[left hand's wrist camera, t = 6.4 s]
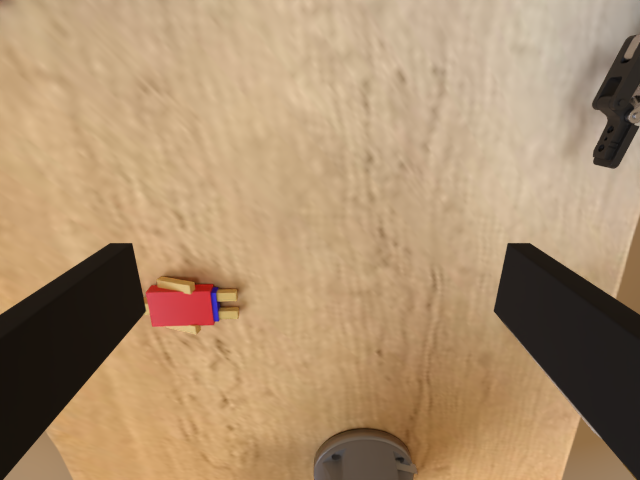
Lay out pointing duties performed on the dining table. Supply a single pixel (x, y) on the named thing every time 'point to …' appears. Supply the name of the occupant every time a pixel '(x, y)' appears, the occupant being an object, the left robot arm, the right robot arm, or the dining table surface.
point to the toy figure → (187, 304)
